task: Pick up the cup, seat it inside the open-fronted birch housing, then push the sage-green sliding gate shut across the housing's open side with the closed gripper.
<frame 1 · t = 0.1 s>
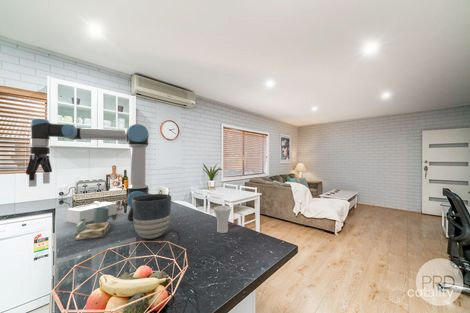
hand: (39, 184, 107), 28 cm above the kitchen counter, fingers open, 13 cm apart
cup: (101, 224, 125), on the kitchen counter
gate: (80, 225, 113), point 3 cm above the kitchen counter, slide at 8.0 cm
tissue box: (93, 218, 139), on the kitchen counter
cup 2: (222, 231, 113), on the kitchen counter
planter: (152, 237, 104), on the kitchen counter
housing: (93, 233, 109), on the kitchen counter
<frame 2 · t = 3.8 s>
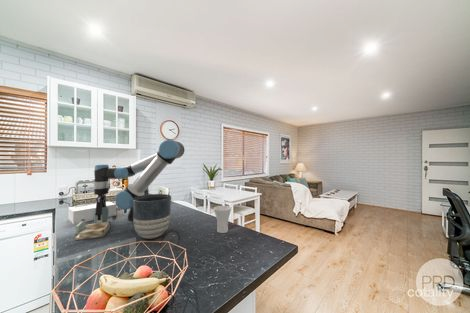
hand: (101, 222, 125), 1 cm above the kitchen counter, fingers closed on cup, 8 cm apart
cup: (101, 224, 125), on the kitchen counter, touching gripper
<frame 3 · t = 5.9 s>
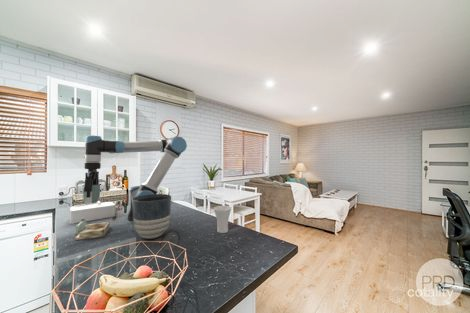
hand: (91, 201, 111), 18 cm above the kitchen counter, fingers closed on cup, 8 cm apart
cup: (91, 203, 111), point 17 cm above the kitchen counter, touching gripper
when the fingers open (4 cm above the kitchen counter, at t = 8.5 s): cup drops 2 cm, resting on housing.
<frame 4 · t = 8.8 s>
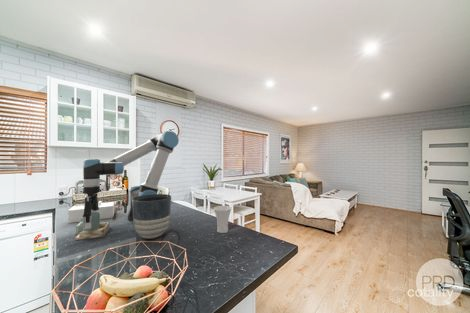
hand: (91, 224, 109), 5 cm above the kitchen counter, fingers open, 11 cm apart
cup: (91, 231, 109), point 1 cm above the kitchen counter, touching housing
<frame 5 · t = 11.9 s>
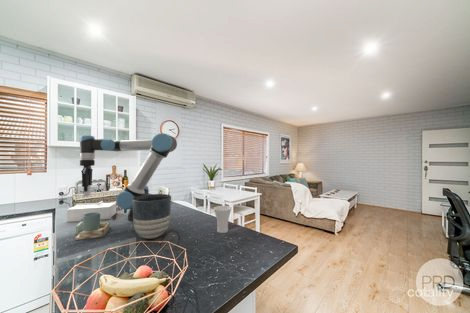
hand: (87, 195, 124), 19 cm above the kitchen counter, fingers open, 3 cm apart
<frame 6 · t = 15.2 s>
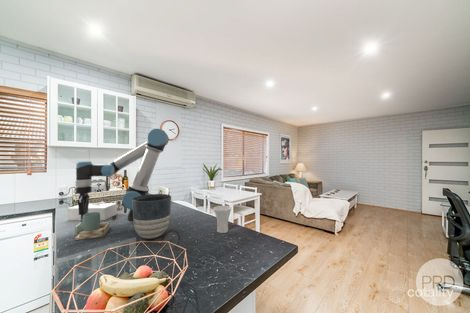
hand: (83, 224, 118), 2 cm above the kitchen counter, fingers closed
gate: (79, 226, 112), point 3 cm above the kitchen counter, slide at 6.4 cm, touching gripper
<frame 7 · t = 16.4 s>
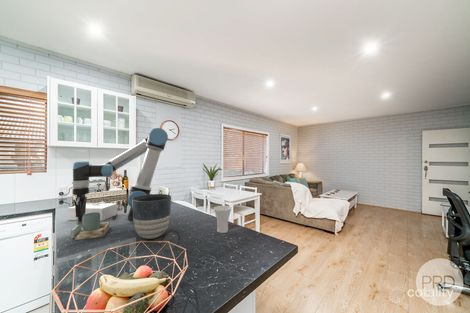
hand: (80, 227, 113), 2 cm above the kitchen counter, fingers closed
gate: (76, 229, 107), point 3 cm above the kitchen counter, slide at 1.4 cm, touching gripper
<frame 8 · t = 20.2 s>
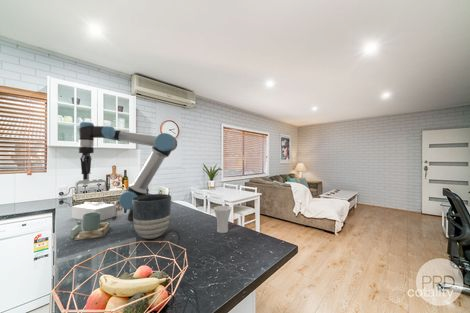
hand: (86, 184, 121), 26 cm above the kitchen counter, fingers closed
gate: (76, 229, 107), point 3 cm above the kitchen counter, slide at 1.3 cm
at the end: cup inside the target area on the housing (0.6 cm from its centre), point 0.8 cm above the housing's base; cup tilted 0°; gate slide at 1.3 cm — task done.
